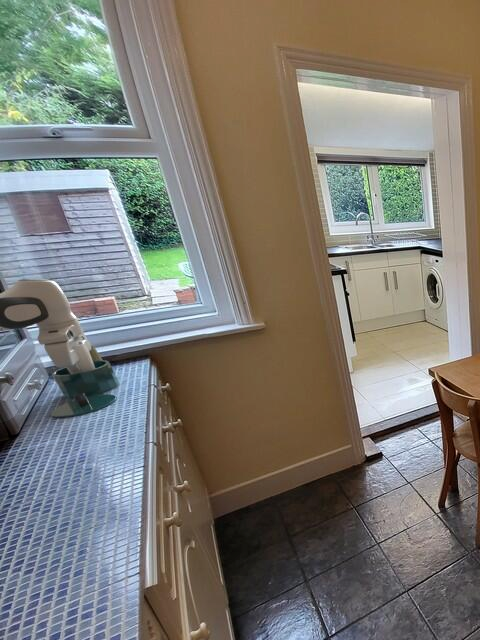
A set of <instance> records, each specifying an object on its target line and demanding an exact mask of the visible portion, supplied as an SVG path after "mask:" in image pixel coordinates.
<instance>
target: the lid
mask: <svg viewBox="0 0 480 640" xmlns="http://www.w3.org/2000/svg"><path fill="white" fill-rule="evenodd" d="M73 396H74V398H75V399H74V400H72V401H69V402H67V403H64V404H62V405H60V406H58V407H55V408H54V409H53V410H51V412H50V416H51V417H52V418H55V419H66V418H72V417H77V416H83V415H86V414H90V413H93V412H97V411H99V410H102V409H104V408H106V407H109V406H110V405H112V404H113V403H114V402H116V401H117V397H116V395H114V394H109V393H108V394H104V393H103V394H98V395H94V396H90V397H86V395H85V393H78V394H75V395H73Z"/></svg>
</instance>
